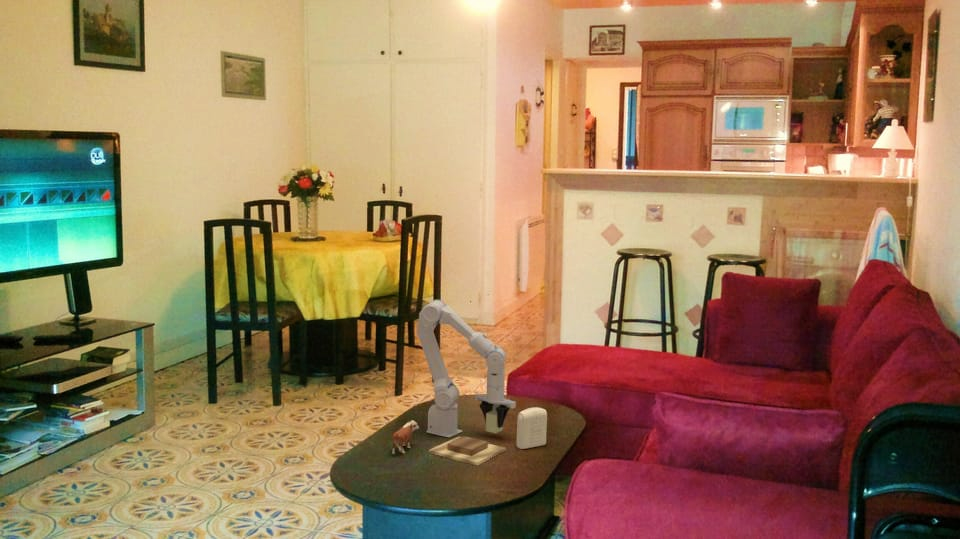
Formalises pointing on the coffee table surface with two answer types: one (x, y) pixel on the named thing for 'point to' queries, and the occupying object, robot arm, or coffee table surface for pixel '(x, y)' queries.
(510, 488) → the coffee table surface
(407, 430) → the bull figurine
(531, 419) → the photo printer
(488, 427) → the sage block
